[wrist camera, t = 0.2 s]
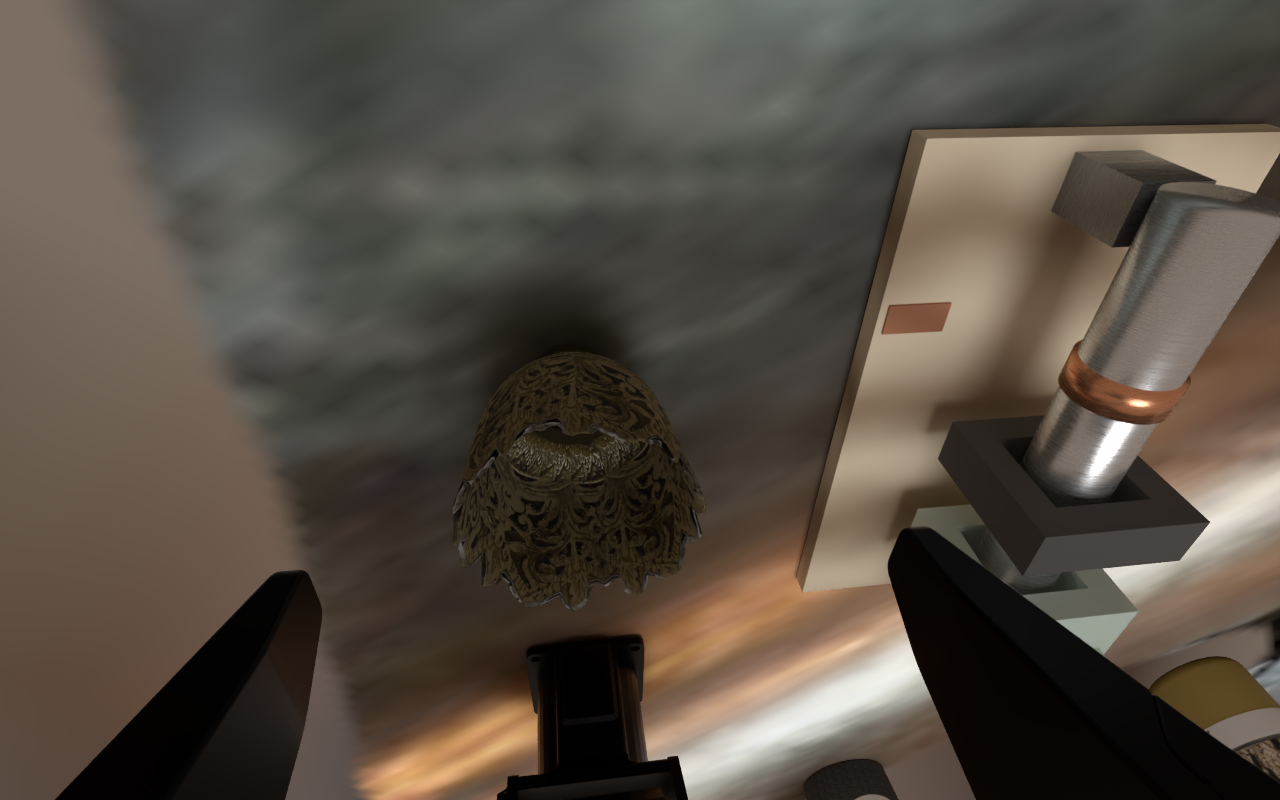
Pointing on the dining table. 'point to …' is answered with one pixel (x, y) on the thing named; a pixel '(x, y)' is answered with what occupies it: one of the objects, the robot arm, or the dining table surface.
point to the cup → (575, 483)
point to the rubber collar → (1065, 536)
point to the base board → (975, 315)
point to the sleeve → (1074, 598)
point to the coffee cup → (850, 782)
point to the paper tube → (1226, 707)
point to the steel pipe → (1137, 320)
